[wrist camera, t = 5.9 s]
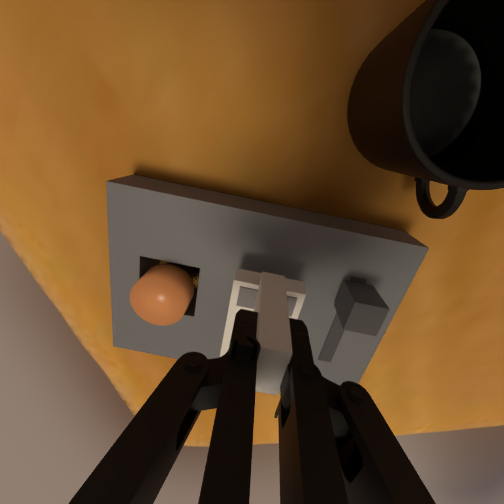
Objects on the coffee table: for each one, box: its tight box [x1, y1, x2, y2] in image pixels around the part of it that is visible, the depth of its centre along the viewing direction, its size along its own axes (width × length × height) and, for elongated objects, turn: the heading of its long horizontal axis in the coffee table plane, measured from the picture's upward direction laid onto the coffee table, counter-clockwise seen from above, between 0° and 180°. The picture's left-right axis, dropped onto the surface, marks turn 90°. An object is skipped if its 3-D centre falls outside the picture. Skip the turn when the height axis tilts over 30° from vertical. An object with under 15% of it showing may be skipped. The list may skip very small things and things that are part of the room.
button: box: [130, 262, 194, 326], centre depth 22 cm, size 4×4×6 cm
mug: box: [348, 0, 504, 219], centre depth 15 cm, size 9×12×9 cm
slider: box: [334, 280, 390, 336], centre depth 19 cm, size 2×2×3 cm
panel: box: [106, 175, 429, 385], centre depth 23 cm, size 16×24×5 cm, turn 79°
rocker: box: [220, 268, 306, 357], centre depth 20 cm, size 8×5×2 cm, turn 169°
